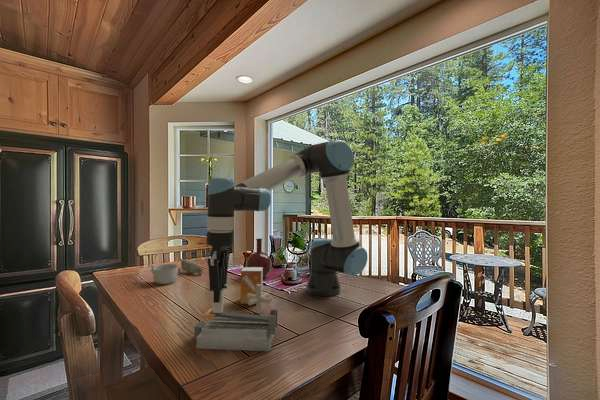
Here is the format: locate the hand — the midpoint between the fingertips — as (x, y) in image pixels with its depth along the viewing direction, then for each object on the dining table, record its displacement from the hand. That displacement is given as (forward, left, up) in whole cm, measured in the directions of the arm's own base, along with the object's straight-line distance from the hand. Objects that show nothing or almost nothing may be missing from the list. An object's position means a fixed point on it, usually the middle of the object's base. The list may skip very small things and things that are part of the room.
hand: (217, 312), depth 84 cm
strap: (-7, 0, -2) cm, 7 cm away
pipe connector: (-8, -20, -8) cm, 23 cm away
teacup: (+45, -53, -8) cm, 70 cm away
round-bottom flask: (+1, -66, -8) cm, 67 cm away
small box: (-3, -31, -8) cm, 32 cm away
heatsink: (-6, 0, -8) cm, 10 cm away
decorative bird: (+39, -71, -8) cm, 81 cm away
